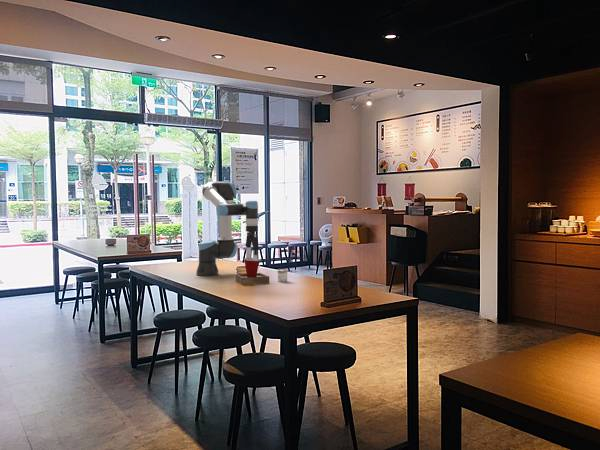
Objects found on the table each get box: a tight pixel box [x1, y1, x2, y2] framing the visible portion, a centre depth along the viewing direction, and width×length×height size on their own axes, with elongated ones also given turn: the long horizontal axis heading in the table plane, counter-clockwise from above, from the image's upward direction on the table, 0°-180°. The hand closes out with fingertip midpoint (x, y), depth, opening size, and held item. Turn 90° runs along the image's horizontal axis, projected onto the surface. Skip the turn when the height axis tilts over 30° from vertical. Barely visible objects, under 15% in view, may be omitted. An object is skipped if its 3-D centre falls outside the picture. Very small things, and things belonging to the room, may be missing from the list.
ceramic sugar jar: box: [277, 269, 288, 283], centre depth 326 cm, size 7×7×7 cm
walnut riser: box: [235, 272, 270, 286], centre depth 323 cm, size 17×17×4 cm
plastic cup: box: [243, 257, 261, 278], centre depth 322 cm, size 11×11×12 cm
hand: (251, 259), depth 322 cm, fingers open, 13 cm apart
